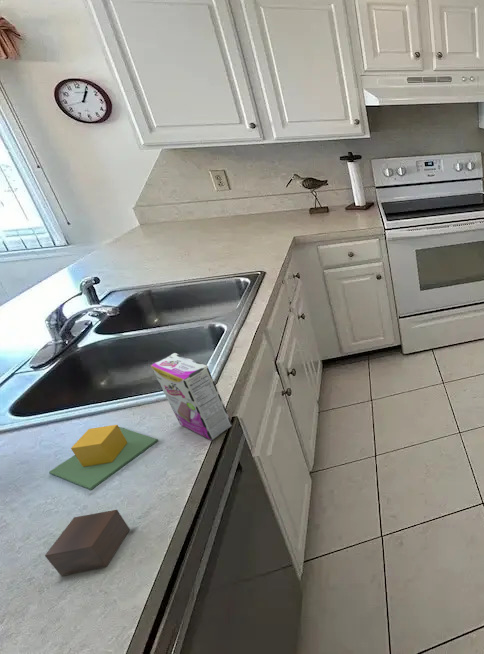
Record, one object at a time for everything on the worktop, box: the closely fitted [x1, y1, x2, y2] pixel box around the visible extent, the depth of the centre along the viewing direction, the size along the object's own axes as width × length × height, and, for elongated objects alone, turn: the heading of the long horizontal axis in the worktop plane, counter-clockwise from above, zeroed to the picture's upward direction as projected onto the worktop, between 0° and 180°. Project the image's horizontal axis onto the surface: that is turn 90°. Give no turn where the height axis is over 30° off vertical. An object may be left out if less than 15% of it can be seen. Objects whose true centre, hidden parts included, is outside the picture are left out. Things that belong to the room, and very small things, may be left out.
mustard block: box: [70, 424, 127, 467], centre depth 81 cm, size 5×5×5 cm
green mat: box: [48, 426, 159, 491], centre depth 82 cm, size 12×12×1 cm
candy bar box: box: [150, 352, 233, 441], centre depth 85 cm, size 11×5×16 cm, turn 65°
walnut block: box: [44, 509, 131, 577], centre depth 64 cm, size 6×6×5 cm
